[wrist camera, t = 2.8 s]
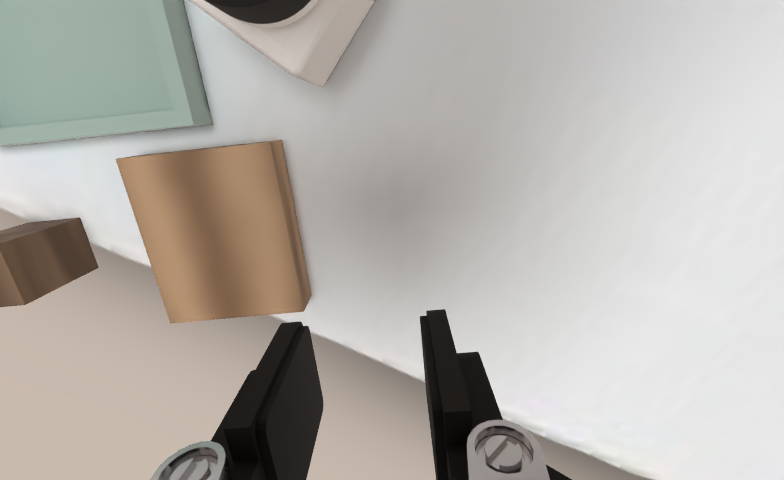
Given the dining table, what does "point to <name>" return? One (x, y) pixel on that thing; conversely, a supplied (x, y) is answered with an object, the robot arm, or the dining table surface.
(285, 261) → the tan wooden block
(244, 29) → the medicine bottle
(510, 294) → the dining table surface
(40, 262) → the dark brown wooden block
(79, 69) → the tray
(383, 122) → the dining table surface
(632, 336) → the dining table surface
